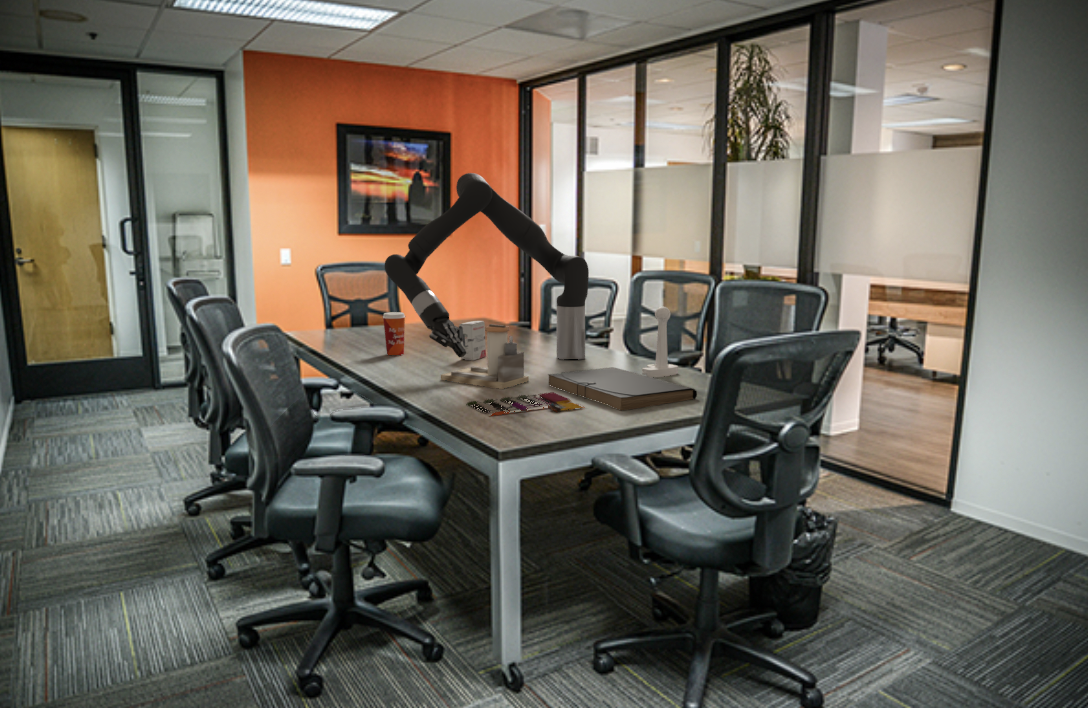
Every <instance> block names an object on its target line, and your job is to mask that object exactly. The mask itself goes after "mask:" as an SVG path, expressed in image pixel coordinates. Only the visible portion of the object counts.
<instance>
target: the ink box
mask: <svg viewBox="0 0 1088 708" xmlns="http://www.w3.org/2000/svg"><path fill="white" fill-rule="evenodd" d="M459 326H462V327H463V340H462V342H461V345H462V346H463V347H464V349H465V350H466V354H465V355H464V357H460V359H461V360H462V359H465V361H472V360H473V361H477V360H479V359H482V358H485V356H486V357H487V347H486V346H487V343H486V331H485V327H486V325H485V321H484V320H472V321H467V322H463V323H459ZM459 326H458V327H459Z"/></svg>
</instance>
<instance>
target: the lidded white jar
mask: <svg viewBox="0 0 1088 708" xmlns="http://www.w3.org/2000/svg"><path fill="white" fill-rule="evenodd" d="M509 331H510V326H509V325H501V324H493V323H491V324H490V323H489V324H488V325H485V332H486V337H487V338H486V340H487V341H486V346H487V347H486V357H487V368H488V376H493V377H498V356H502V355H505V343H509V342H508V341H509V340H508V339H509V338H508V336H509V334H508V332H509Z"/></svg>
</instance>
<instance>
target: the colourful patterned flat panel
mask: <svg viewBox="0 0 1088 708" xmlns="http://www.w3.org/2000/svg"><path fill="white" fill-rule="evenodd" d="M538 396H539V397H538ZM531 397H532V398H531ZM541 397H542V398H543V400H542V398H541ZM517 398H519V399H520V398H522V399H523V400H524V399H528V400H530V402H531V401H532V402H533V401H534V402H533V403H532V402H531V404H534V403H535V402H538V401H539V400H541V401H543V402H545V403H546V404H545V403H544V404H545V405H548V404H549V405H550V406H549V405H548V409H547V410H550V411H552V412H555V413H558V412H559V411H560V412H561V411H566V410H567V411H566V412H569V411H570V410H571V411H572V410H573V409H575V408H584V406H583V407H581V406H579V404H578V403H574V402H572V399H570V398H568V397H566V396H564V395H561V394H559V393H556V392H554V391H552V392H544V393H543V392H542V393H539V394H531V395H529V394H527V395H526V394H519V395H517V396H516V397H513V396H511V397H510V396H507V397H506V396H502V397H501V399H498V398H495V399H493V398H490V399H489V398H487V399H484V401H479V400H474V401H472V400H471V401H468V402H467V403H465V405H466V406H467V405H468V406H467V407H470V405H473V408H472V406H471V407H470V408H472V409H474V407H475V409H474V410H476V409H477V408H479V409H480V410H482V409H483V410H482V412H483V411H484V412H486V413H485V414H487V413H488V411H489V412H490V411H492V413H491V414H492V415H491V414H490V415H491V416H490V417H495V416H494V415H496V416H502V414H504V415H508V414H509V412H510V410H511V409H514V408H515V409H520V410H521V411H526V412H528V411H527V409H528V408H529V407H535V405H539V406H540V405H543V402H541V401H539V402H538V403H539V404H538V403H537V404H534V405H530V404H528V405H527V404H526V405H524V404H522V403H519V402H518V401H516V400H514V399H517ZM529 398H530V399H529ZM540 398H541V399H540ZM536 399H538V400H536ZM544 399H545V400H547V401H549V403H548V402H546V401H545V400H544ZM502 400H503V401H505V400H506V401H507V403H508V402H509V401H511V403H512V402H513V404H512V406H511V405H509V406H504V405H502V404H500V403H499V402H497V401H500V402H502V403H506V401H505V402H503V401H502ZM528 400H527V401H528ZM491 402H492V403H491ZM530 402H528V403H530ZM540 402H541V403H540ZM480 403H481V405H480ZM482 403H483V404H485V405H487V404H486V403H491V404H490V405H492V406H493V407H492V408H493V409H489V408H486V407H485V406H484V405H483V406H482ZM507 403H506V404H507ZM511 403H510V404H511ZM474 404H475V406H474ZM520 404H521V405H520ZM478 405H479V406H478ZM501 405H502V407H501ZM476 406H478V407H476ZM480 407H482V408H480ZM527 407H528V408H527ZM485 408H486V409H485ZM501 408H502V409H501ZM526 408H527V409H526ZM543 408H544V407H543ZM479 409H478V410H479ZM487 409H488V410H487ZM505 409H506V410H508V409H510V410H508V411H509V412H507V413H506V412H505V411H503V410H505ZM568 409H569V411H568ZM485 410H486V411H485ZM499 410H500V411H499ZM494 412H495V413H494ZM504 412H505V413H506V414H505V413H504ZM514 412H515V411H514ZM488 414H489V413H488ZM509 415H510V414H509Z"/></svg>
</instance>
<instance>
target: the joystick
mask: <svg viewBox="0 0 1088 708" xmlns="http://www.w3.org/2000/svg"><path fill="white" fill-rule="evenodd" d="M654 316H655V319H656V320H657V325H658V326H657V337H656V338H657V341H656V353H655V364H654V363H653V364H651V363H650V364H647V365H646V367H642V368H641V375H644V376H648V377H652V378H653V377H654V378H664V376H665V377H671V376H675V375H677V374H679V372H678V371H679V366H678V365H676V364H672V363H671V364H670V363H669V362H668V331H667V330H668V329H667V327H668V326H667V324H668V321H669V319H670V318H671V311H670V309H669V308H668V307H667V306H660V307H657V308H656V310H655V311H654ZM668 363H669V364H668ZM670 375H671V376H670Z"/></svg>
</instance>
